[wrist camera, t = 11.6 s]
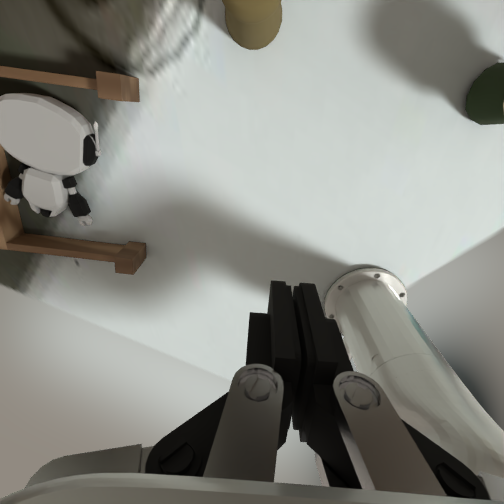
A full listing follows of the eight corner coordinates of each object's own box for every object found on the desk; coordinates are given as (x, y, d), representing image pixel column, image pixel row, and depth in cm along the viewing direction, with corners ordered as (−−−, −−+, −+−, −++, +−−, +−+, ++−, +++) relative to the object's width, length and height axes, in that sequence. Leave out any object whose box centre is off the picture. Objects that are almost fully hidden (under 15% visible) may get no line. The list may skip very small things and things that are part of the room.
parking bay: (146, 257, 44) (133, 274, 39) (16, 242, 43) (-12, 258, 39) (138, 78, 34) (120, 74, 29) (-33, 54, 33) (-78, 46, 28)
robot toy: (105, 221, 43) (113, 114, 35) (88, 235, 39) (93, 118, 31) (17, 195, 41) (6, 77, 34) (-10, 207, 37) (-28, 76, 30)
